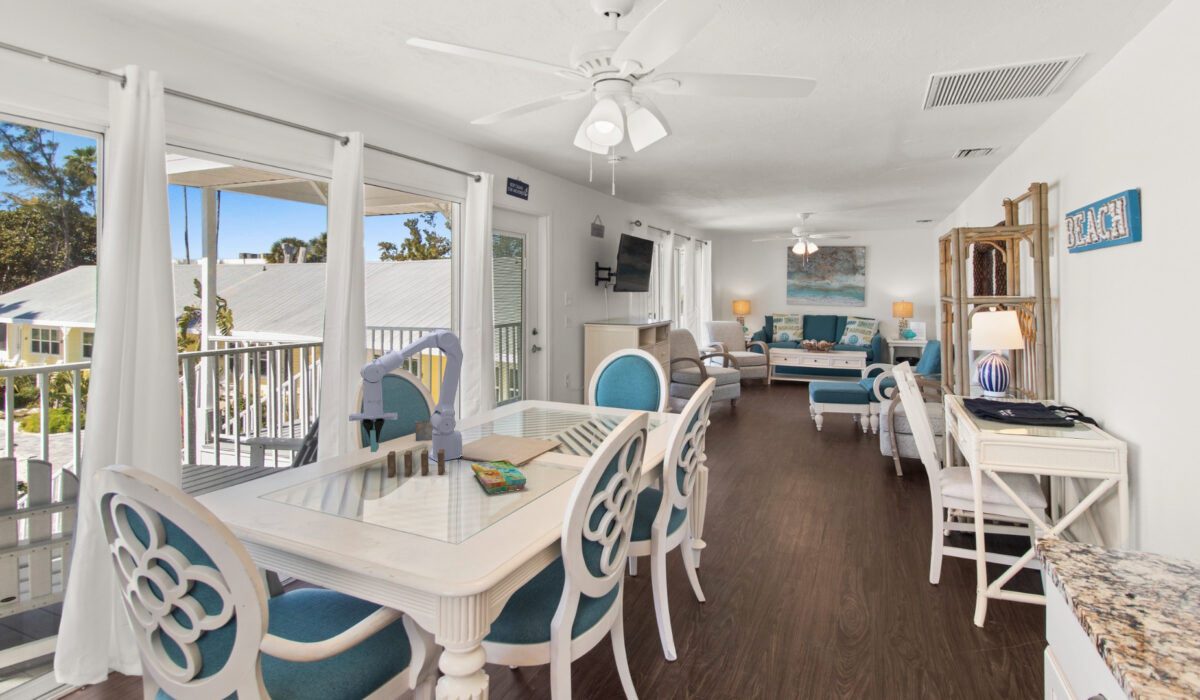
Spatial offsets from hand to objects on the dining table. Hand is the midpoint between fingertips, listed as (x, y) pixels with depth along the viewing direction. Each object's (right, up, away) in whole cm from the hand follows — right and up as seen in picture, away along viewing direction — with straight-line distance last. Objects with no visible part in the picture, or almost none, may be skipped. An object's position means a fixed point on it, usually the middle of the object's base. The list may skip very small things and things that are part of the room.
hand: (374, 442), depth 188 cm
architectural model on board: (+8, -5, +37) cm, 38 cm away
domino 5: (+23, -9, -4) cm, 25 cm away
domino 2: (+8, -9, -6) cm, 13 cm away
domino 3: (+13, -9, -5) cm, 17 cm away
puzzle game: (+42, -11, -12) cm, 45 cm away
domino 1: (0, -3, 0) cm, 3 cm away
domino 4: (+18, -9, -4) cm, 20 cm away
